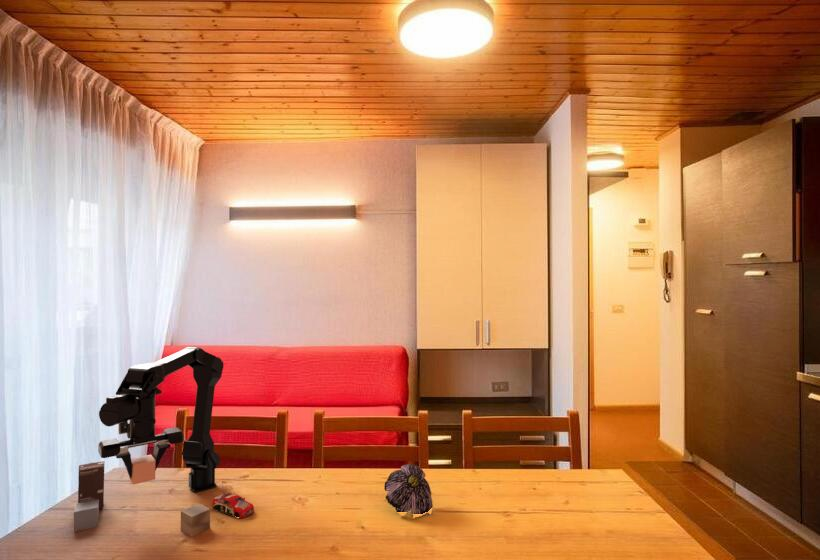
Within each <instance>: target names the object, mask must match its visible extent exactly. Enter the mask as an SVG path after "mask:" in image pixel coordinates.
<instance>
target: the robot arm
mask: <svg viewBox="0 0 820 560" xmlns="http://www.w3.org/2000/svg"><path fill="white" fill-rule="evenodd" d="M187 366H188V367H190V368H191V369H192V376H193V379H194V382H195V383H196V386H197V388H196V397H195V402H194V403H195V406H194V411H193V412H194V414H193V421H192V429H191V430H192V431H191V435H190V436H189V437H188V439H187V440H185V436H184V435H185V434H184V431H183V430H181V429H180V428H179V427H178V426H175V427H170V428H165V429H163V431H162V433H160V434H156V422H157V421H156V396H157V395H161V394H162V393H163V391H162V390H161V389H160V388H158V386H160V385H161V384H162V383H163V382H165V379H166V377H167V376H169V375H172V374H173V373H175V372H177V371H178V370H181V369H183V368H185V367H187ZM223 370H224V361H222V359H221V357H219V356H215V355H213V354H211V353H209V352H207V351H205V350H204V349H202V348H201V347H198V346H197V347H196V346H186V347H184V348H183V349H181V350H179V351H178V352H174V353H173V354H170V355H169V356H166V357H163V358H161V359H160V360H156V361H154V362H147V363H141V364H140V363H139V364H137V365H132V366H130V367H129V368H128V370H127V373H126V374H125V376H124V378H123V379H122V381H121V383H120V384H119V387H118V388H117V390H116V392H115V395H114V396H108V397H106V399H105V403H103V404H102V405H101V406H100V410H99V411H98V417H99V420H100V422H101V424H103V425H104V426H105V427H113V426H116V425H118V435H123V434H126V437H127V438H128V440H122V441H119V440H118V438H117V437H116V438H115V437H114V438H111V439H110V438H109V439H105V440H100V442H99V443H98V446H97V447H98V448H97V450H98V453H99V456H100V458H101V459H107V458H112V457H115V458H116V459H121V460H122V462H123V463H124V467H125V469H126V471H127V473H128V476H129V477H130V478H132V465H131V458H132V456H131V453H130V451H129V449H131V448H135V447H141V446H145V445H151V444H153V455H152V456H153V458H154V459H155V472H156V471H157V468H158V466H159V464H160V462H161V459H162V458H163V456H164V454H165V453H166V451H167V449H170V448H171V445H176V444H181V443H182V452H181V455H182V461H184V465H185V467H186V468H189V469H190V472H189V473H188V487H189V488H190V489H191V490H192V491H193V493H198V492H202V491H207V490H210V489H214V488H217V487H218V486H217V483H216V482H215V481H216V469H217V468H218V466H220V465H221V464H220V463H221V456H219V455H218V454H217V453H216V452H215V442H214V440H213V437H212V436H211V425H212V424H211V423H212V415H213V405H214V397H215V388H216V387H215V386H216V385H217V384H218V382H219V381H220V380H221V378H222V375H223ZM128 421H129V423H128ZM130 478H129V479H130Z"/></svg>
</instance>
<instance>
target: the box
mask: <svg viewBox="0 0 820 560" xmlns="http://www.w3.org/2000/svg"><path fill="white" fill-rule="evenodd" d="M77 483H78V487H77V488H78V489H77V490H78V492H77V493H78V494H77V503H82V502H87V501H92V500H98V499H99V510H100V509H104V505H105V504H104V501H105V500H104V498H105V497H104V495H105V494H104V493H105V461H96V462H90V463H86V464H85V463H84V464H80V465H78V482H77Z"/></svg>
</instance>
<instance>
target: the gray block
mask: <svg viewBox="0 0 820 560" xmlns="http://www.w3.org/2000/svg"><path fill="white" fill-rule="evenodd" d="M99 513H100V509H99V499H98V500H92V501H87V502H82V503H78V502H77V503H75V505H74V510H73V532H77V531H76V530H78V531H81V530H82V529H83V530H88V529H92V528H95V527H98V526H99V520H100V519H99V517H100V516H99V515H100V514H99Z"/></svg>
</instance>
